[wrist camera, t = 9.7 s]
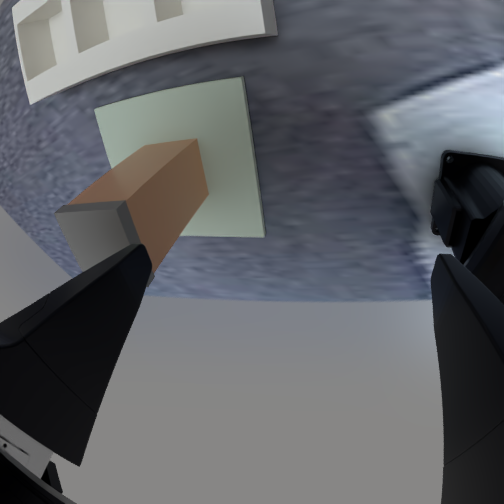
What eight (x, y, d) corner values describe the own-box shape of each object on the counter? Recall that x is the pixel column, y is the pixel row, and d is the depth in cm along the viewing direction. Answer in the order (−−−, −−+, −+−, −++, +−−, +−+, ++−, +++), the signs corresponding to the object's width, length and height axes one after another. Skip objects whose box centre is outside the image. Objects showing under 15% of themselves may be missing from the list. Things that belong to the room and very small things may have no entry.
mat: (243, 76, 17) (241, 77, 17) (265, 233, 25) (264, 237, 24) (98, 107, 21) (94, 109, 20) (138, 231, 28) (135, 235, 27)
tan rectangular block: (198, 136, 20) (116, 209, 13) (210, 195, 23) (148, 287, 15) (142, 144, 21) (53, 213, 14) (157, 197, 24) (86, 279, 17)
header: (257, -82, 10) (240, -105, 7) (278, 35, 15) (265, 33, 12) (47, 3, 15) (12, 7, 12) (63, 90, 20) (30, 104, 17)
